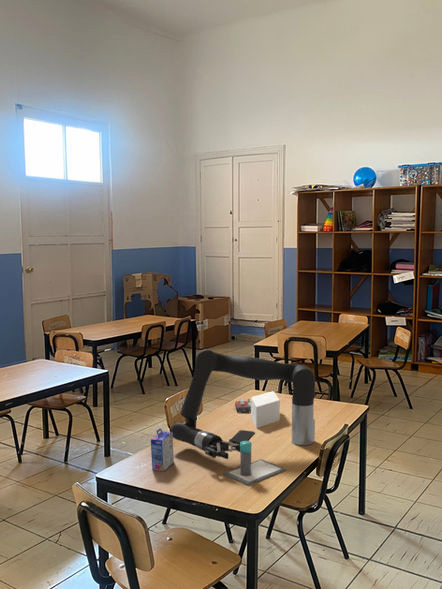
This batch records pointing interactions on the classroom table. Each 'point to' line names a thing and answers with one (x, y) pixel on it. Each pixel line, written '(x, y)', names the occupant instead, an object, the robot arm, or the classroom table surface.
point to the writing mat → (256, 472)
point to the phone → (243, 435)
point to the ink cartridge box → (162, 450)
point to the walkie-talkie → (243, 406)
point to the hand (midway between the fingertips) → (236, 453)
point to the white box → (265, 409)
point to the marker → (245, 458)
